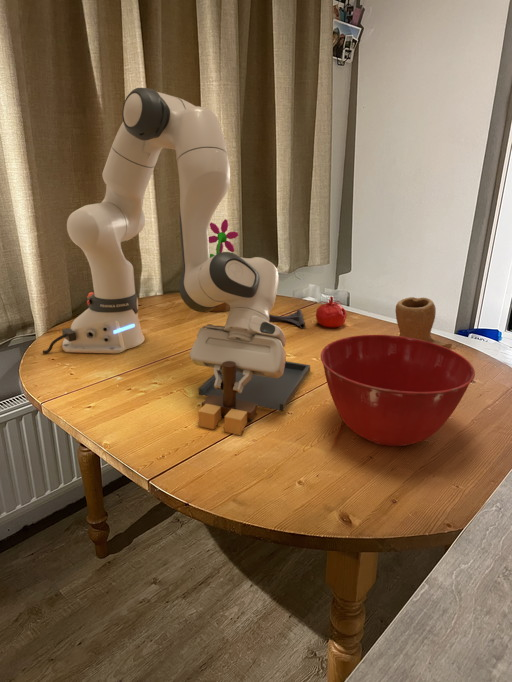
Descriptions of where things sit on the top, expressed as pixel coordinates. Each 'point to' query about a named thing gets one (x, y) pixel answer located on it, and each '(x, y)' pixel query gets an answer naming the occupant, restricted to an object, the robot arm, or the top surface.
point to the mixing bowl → (394, 386)
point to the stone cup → (417, 319)
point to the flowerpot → (222, 238)
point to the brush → (231, 394)
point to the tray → (265, 387)
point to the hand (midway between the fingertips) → (227, 390)
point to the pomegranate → (331, 314)
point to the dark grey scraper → (290, 318)
